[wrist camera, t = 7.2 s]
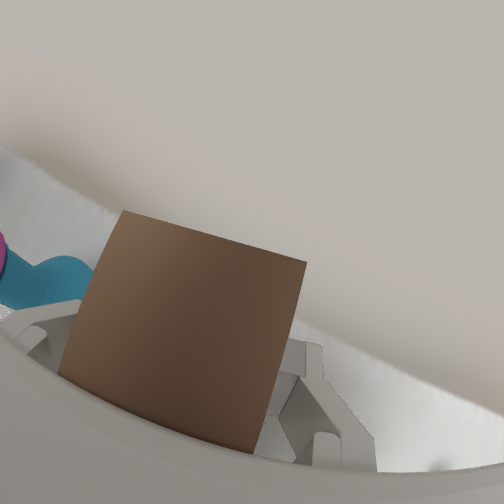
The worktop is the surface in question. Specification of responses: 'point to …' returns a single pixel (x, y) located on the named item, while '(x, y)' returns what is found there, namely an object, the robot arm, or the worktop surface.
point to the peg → (184, 329)
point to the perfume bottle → (40, 280)
